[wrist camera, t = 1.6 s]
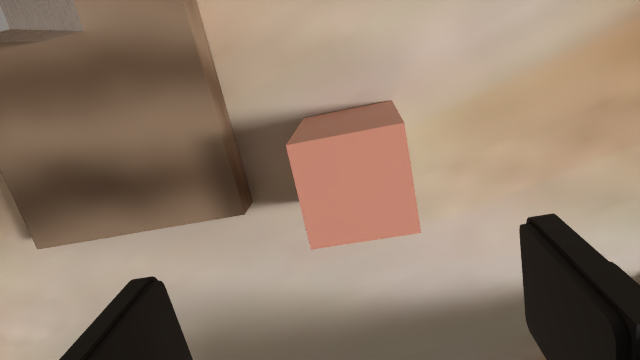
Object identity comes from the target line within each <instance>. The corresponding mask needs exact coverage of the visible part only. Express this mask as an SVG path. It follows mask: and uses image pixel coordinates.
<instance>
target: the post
mask: <svg viewBox="0 0 640 360" xmlns="http://www.w3.org/2000/svg"><path fill="white" fill-rule="evenodd" d="M82 31H84V29H83V26H82V24H81V21H80V18H79V15H78V13H77V10H76V7H75V4H74V2H73V0H0V42H42V41H46V40H50V39H54V38H58V37H62V36H66V35H70V34H74V33H78V32H82Z"/></svg>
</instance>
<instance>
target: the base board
mask: <svg viewBox="0 0 640 360" xmlns="http://www.w3.org/2000/svg"><path fill="white" fill-rule="evenodd" d="M73 2H74V4H75V7H76V10H77V13H78V15H79V18H80V21H81V24H82V26H83V29H84V31H82V32H78V33H74V34H70V35H66V36H62V37H58V38H54V39H50V40H46V41H42V42H0V170H1V173H2V175H3V177H4V179H5V181H6V183H7V185H8V188H9V190H10V192H11V194H12V196H13V198H14V200H15V203H16V205H17V207H18V209H19V211H20V213H21V215H22V218H23V220H24V222H25V224H26V226H27V228H28V230H29V233H30V235H31V237H32V239H33V241H34V243H35V245H36V248H37V249H43V248H49V247H55V246H61V245H66V244H72V243H78V242H84V241H90V240H96V239H102V238H108V237H114V236H120V235H126V234H132V233H138V232H143V231H149V230H155V229H161V228H167V227H173V226H179V225H185V224H191V223H197V222H203V221H209V220H214V219H220V218H226V217H232V216H238V215H244V214H245V213H246V212H247V210H248V208H249V207H250V205H251V204H252V202H253V201H252V198H251V194H250V191H249V187H248V184H247V180H246V176H245V173H244V169H243V166H242V162H241V159H240V155H239V152H238V148H237V144H236V141H235V137H234V134H233V130H232V127H231V123H230V119H229V116H228V112H227V109H226V105H225V102H224V98H223V95H222V91H221V87H220V84H219V80H218V77H217V73H216V70H215V66H214V62H213V59H212V55H211V52H210V48H209V45H208V41H207V38H206V34H205V30H204V27H203V23H202V20H201V16H200V13H199V9H198V5H197V2H196V0H73Z"/></svg>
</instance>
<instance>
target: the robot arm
mask: <svg viewBox="0 0 640 360" xmlns="http://www.w3.org/2000/svg"><path fill="white" fill-rule="evenodd" d="M520 245H521V259H522V273H523V287H524V302H525V316H526V322H527V325H528V328H529V331H530V333H531V334H532V336H533V338H534V339H535V341H536V343H537V344H538V346H539V348H540V349H541V351H542V353H543V354H544V356H545V358H546V359H547V360H640V285H639V284H638V283H637V282H635V281H634V280H633V279H632V278H631V277H630V276H629V275H627V274H626V273H625V272H624V271H623V270H622V269H621V268H619V267H618V266H617V265H616V264H614V263H612V262H609V261H608V260H607V259H605V258H604V257H603V256H602V255H601V254H600V253H599V252H597V251H596V250H595V249H594V248H593V247H592V246H591V245H590V244H588V243H587V242H586V241H585V240H584V239H583V238H582V237H580V236H579V235H578V234H577V233H576V232H575V231H574V230H572V229H571V228H570V227H569V226H568V225H567V224H566V223H565V222H563V221H562V220H561V219H560V218H559V217H558V216H557V215H555V214H548V215H541V216H535V217H528V219H527V222H526V224H522V225H520ZM59 360H193V359H192V356H191V354H190V351H189V348H188V346H187V343H186V340H185V338H184V335H183V333H182V330H181V327H180V325H179V322H178V319H177V317H176V314H175V311H174V309H173V306H172V304H171V301H170V298H169V296H168V293H167V290H166V288H165V285H164V283H163V282H162V281H158V280H157V279H156V278H155V277H153V276H152V277H146V278H140V279H133V280H131V281H130V282H129V283H128V284H127V285H126V286H125V287H124V288H123V289H122V290H121V292H120V293H119V294H118V295H117V296H116V297H115V298H114V299H113V300H112V302H111V303H110V304H109V305H108V306H107V307H106V308H105V309H104V310H103V312H102V313H101V314H100V315H99V316H98V317H97V318H96V319H95V321H94V322H93V323H92V324H91V325H90V326H89V327H88V328H87V329H86V331H85V332H84V333H83V334H82V335H81V336H80V337H79V338H78V339H77V341H76V342H75V343H74V344H73V345H72V346H71V347H70V348H69V349H68V351H67V352H66V353H65V354H64V355H63V356H62V357H61V358H60V359H59Z"/></svg>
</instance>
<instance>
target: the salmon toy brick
mask: <svg viewBox="0 0 640 360" xmlns="http://www.w3.org/2000/svg"><path fill="white" fill-rule="evenodd" d="M286 149H287V153H288V157H289V161H290V165H291V169H292V173H293V177H294V181H295V186H296V190H297V194H298V198H299V202H300V206H301V210H302V214H303V218H304V222H305V227H306V231H307V235H308V239H309V243H310V247H311V249H317V248H324V247H330V246H337V245H343V244H350V243H356V242H363V241H370V240H376V239H383V238H389V237H396V236H402V235H409V234H415V233H421V230H420V223H419V217H418V210H417V203H416V197H415V190H414V184H413V177H412V171H411V164H410V158H409V151H408V145H407V138H406V131H405V125H404V122H403V120H402V118H401V116H400V114H399V113H398V111H397V109H396V107H395V105H394V103H393V102H392V101H387V102H382V103H377V104H372V105H367V106H362V107H356V108H351V109H346V110H341V111H336V112H331V113H326V114H321V115H316V116H311V117H306V118H303V120H302V121H301V123H300V124H299V126H298V127H297V129H296V130H295V132H294V133H293V135H292V136H291V138H290V140H289V141H288V143H287V144H286Z"/></svg>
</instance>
